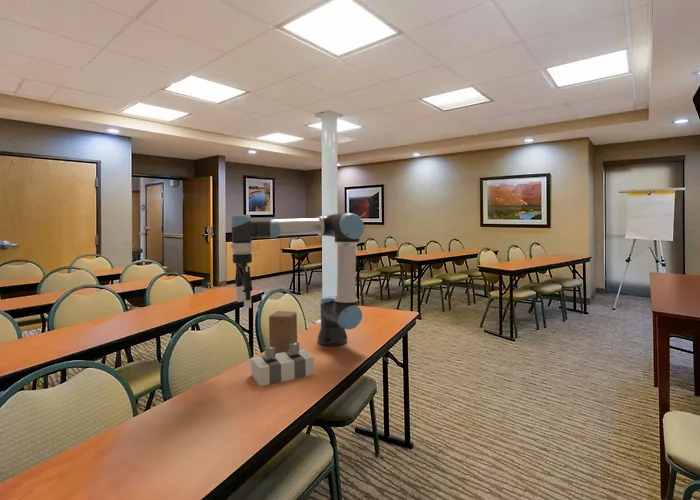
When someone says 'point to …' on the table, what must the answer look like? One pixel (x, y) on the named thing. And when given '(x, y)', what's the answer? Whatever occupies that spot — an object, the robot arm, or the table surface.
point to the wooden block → (282, 330)
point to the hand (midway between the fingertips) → (243, 304)
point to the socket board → (282, 367)
